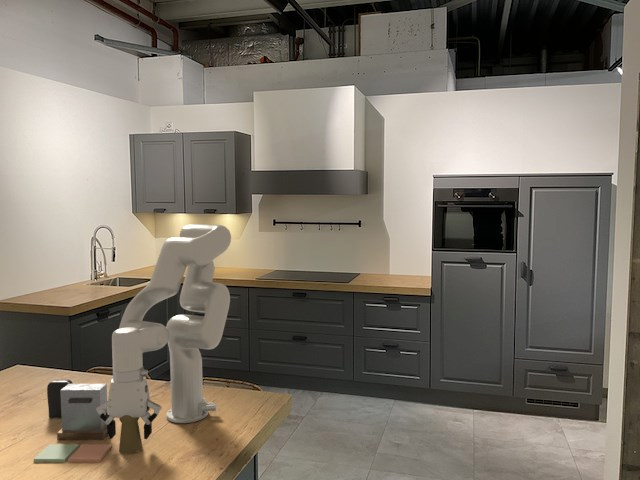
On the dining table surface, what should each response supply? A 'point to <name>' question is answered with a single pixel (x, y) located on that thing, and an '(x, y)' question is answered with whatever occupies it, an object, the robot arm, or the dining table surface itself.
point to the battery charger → (55, 397)
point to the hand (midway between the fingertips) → (129, 436)
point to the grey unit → (82, 412)
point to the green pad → (56, 453)
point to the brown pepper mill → (129, 435)
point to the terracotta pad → (90, 453)
